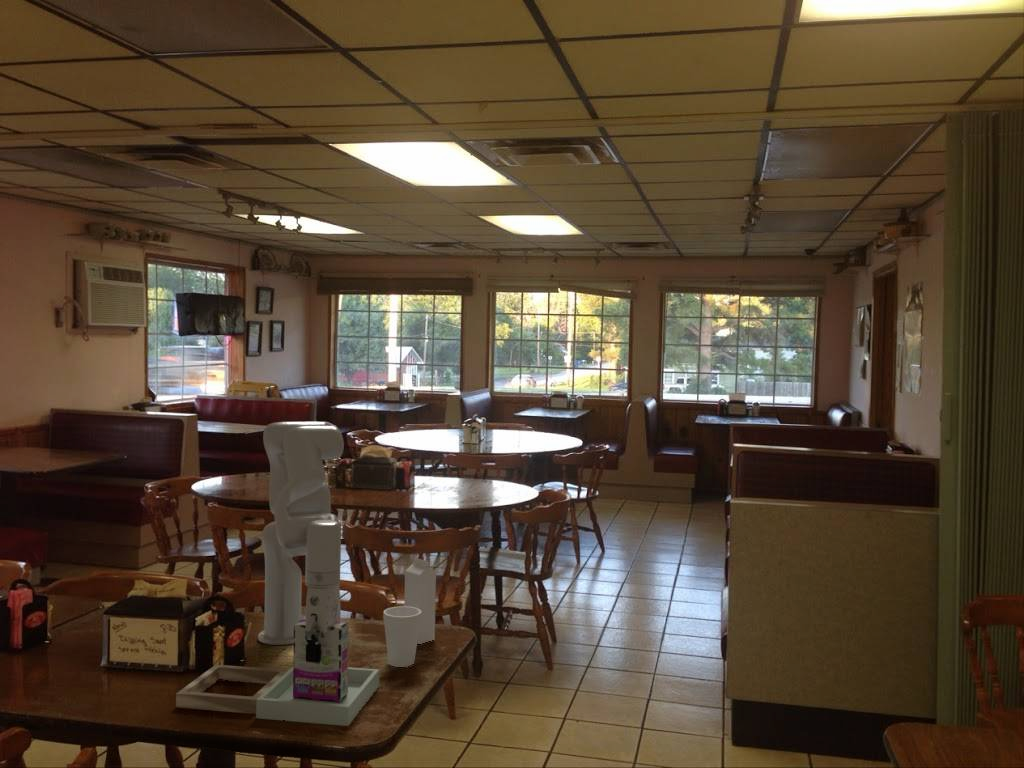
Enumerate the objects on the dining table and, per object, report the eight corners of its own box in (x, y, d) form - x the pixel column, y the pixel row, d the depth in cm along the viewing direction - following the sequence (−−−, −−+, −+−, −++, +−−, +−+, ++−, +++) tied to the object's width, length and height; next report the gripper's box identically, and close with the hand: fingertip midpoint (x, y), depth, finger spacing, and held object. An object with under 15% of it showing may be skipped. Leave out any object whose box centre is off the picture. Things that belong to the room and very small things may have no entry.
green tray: (296, 680, 206) (296, 663, 206) (378, 686, 204) (379, 669, 203) (256, 718, 185) (256, 699, 184) (348, 726, 182) (348, 706, 182)
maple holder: (215, 677, 207) (215, 664, 207) (288, 683, 204) (289, 670, 204) (176, 707, 189) (176, 693, 189) (255, 714, 187) (255, 699, 187)
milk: (418, 645, 233) (419, 563, 232) (403, 640, 237) (404, 559, 236) (435, 640, 237) (436, 559, 236) (420, 635, 241) (421, 555, 241)
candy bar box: (348, 694, 196) (349, 621, 195) (340, 703, 191) (341, 628, 190) (301, 690, 198) (302, 617, 197) (291, 698, 193) (293, 624, 192)
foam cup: (405, 654, 226) (406, 604, 225) (428, 664, 219) (429, 612, 219) (374, 662, 219) (375, 611, 219) (397, 673, 213) (398, 619, 212)
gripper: (325, 588, 184) (323, 669, 185) (351, 568, 201) (350, 642, 202) (291, 586, 185) (289, 666, 186) (320, 566, 202) (318, 640, 203)
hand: (321, 654), depth 194 cm, fingers open, 9 cm apart
